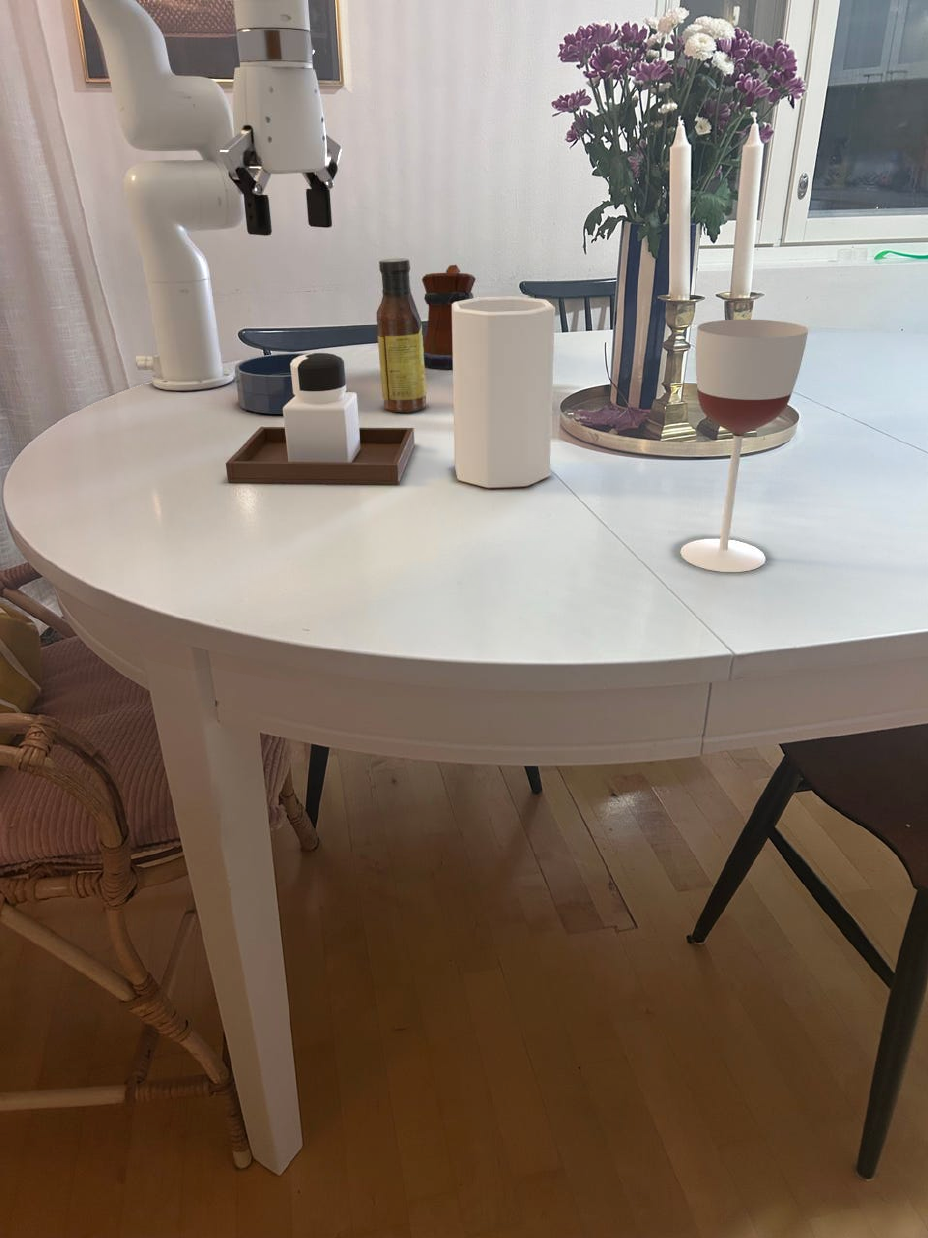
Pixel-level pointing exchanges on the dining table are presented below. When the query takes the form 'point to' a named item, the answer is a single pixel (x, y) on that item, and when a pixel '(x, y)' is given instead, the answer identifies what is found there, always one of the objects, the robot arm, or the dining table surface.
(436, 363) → the wooden pepper grinder
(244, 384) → the bowl
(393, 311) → the sauce bottle
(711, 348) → the wineglass
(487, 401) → the cup
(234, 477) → the tray
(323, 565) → the dining table surface
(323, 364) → the medicine bottle
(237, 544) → the dining table surface
